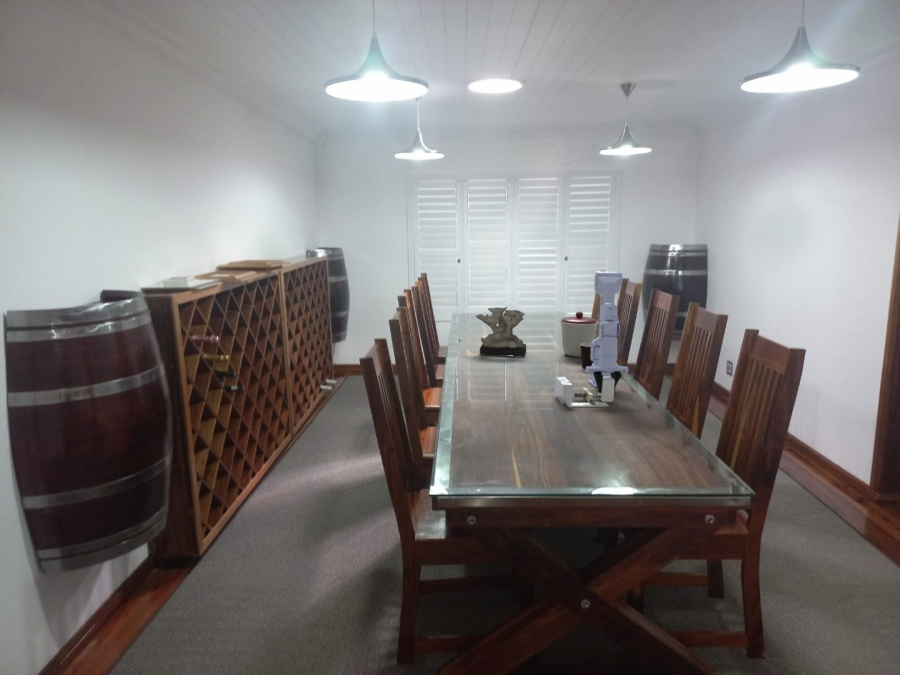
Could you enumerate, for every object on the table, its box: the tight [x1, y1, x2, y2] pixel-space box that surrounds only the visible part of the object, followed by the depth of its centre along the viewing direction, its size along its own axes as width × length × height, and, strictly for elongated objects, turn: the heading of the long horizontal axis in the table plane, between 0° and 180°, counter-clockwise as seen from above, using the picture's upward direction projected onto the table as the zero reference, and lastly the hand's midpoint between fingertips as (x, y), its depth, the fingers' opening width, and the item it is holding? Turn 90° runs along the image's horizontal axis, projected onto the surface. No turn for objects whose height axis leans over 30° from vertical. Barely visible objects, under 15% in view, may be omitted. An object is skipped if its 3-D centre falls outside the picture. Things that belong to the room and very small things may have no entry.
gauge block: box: [593, 376, 615, 403], centre depth 208 cm, size 5×7×8 cm
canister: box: [559, 311, 600, 358], centre depth 282 cm, size 18×18×21 cm
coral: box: [475, 306, 527, 357], centre depth 288 cm, size 25×20×21 cm
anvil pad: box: [573, 387, 597, 405], centre depth 206 cm, size 14×5×3 cm, turn 3°
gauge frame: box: [554, 376, 610, 408], centre depth 207 cm, size 14×15×7 cm
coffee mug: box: [580, 343, 600, 369], centre depth 258 cm, size 12×9×10 cm
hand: (605, 392), depth 209 cm, fingers closed on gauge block, 4 cm apart
